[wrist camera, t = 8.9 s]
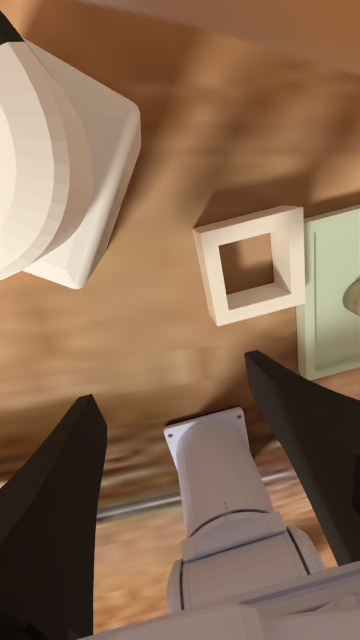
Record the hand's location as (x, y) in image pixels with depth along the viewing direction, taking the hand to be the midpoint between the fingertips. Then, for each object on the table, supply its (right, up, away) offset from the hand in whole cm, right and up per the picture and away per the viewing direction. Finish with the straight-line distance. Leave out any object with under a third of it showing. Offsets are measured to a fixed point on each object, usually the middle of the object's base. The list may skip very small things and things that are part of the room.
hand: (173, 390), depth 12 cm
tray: (+15, +6, +10) cm, 19 cm away
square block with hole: (+5, +8, +8) cm, 12 cm away
